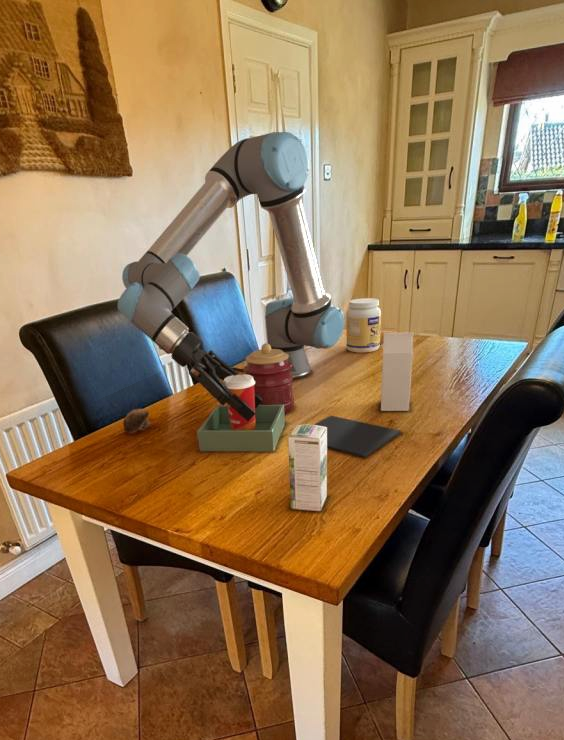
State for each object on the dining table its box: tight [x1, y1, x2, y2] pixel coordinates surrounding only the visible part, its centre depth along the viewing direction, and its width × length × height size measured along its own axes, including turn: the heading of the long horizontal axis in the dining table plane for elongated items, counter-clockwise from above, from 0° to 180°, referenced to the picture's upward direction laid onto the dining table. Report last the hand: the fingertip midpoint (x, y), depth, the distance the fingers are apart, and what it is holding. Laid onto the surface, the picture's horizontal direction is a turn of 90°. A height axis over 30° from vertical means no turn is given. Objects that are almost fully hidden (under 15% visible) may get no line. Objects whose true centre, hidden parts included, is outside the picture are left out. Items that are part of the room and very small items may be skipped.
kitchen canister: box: [242, 342, 295, 414], centre depth 137 cm, size 13×13×18 cm
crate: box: [196, 404, 286, 453], centre depth 125 cm, size 18×18×5 cm
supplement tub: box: [345, 297, 382, 354], centre depth 185 cm, size 12×12×17 cm
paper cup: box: [223, 373, 256, 430], centre depth 122 cm, size 8×8×14 cm
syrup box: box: [287, 424, 328, 512], centre depth 92 cm, size 6×6×14 cm
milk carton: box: [380, 331, 414, 412], centre depth 131 cm, size 7×7×19 cm
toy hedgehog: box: [122, 408, 153, 434], centre depth 133 cm, size 8×8×6 cm
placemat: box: [313, 415, 401, 459], centre depth 122 cm, size 20×16×1 cm
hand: (255, 410), depth 122 cm, fingers closed on paper cup, 8 cm apart
